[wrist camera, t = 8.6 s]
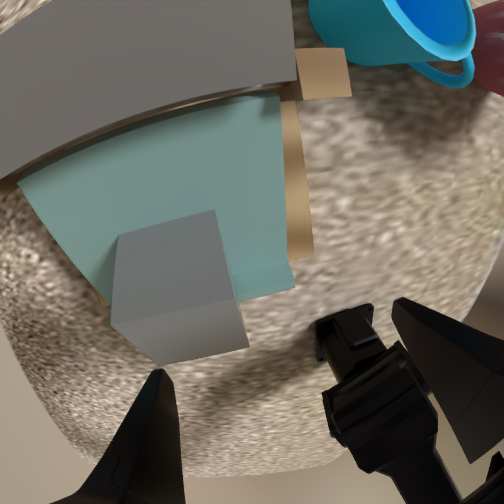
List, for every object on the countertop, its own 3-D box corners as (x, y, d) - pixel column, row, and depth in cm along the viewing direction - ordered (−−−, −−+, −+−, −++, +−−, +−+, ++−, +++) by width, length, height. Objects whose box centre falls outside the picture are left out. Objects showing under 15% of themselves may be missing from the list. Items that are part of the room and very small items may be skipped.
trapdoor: (274, 236, 20) (297, 294, 17) (117, 276, 19) (115, 336, 16) (245, -33, 7) (283, -56, 4) (0, 59, 6) (-61, 93, 3)
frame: (311, 251, 23) (363, 325, 15) (104, 303, 22) (78, 387, 14) (274, 13, 14) (330, -42, 6) (26, 92, 12) (-57, 99, 5)
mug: (287, 20, 14) (341, -23, 7) (337, -39, 11) (396, -79, 4) (405, 117, 18) (482, 134, 11) (439, 55, 16) (510, 57, 9)
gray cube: (231, 271, 17) (249, 346, 14) (153, 289, 17) (158, 365, 14) (214, 209, 13) (234, 297, 10) (118, 235, 13) (110, 325, 10)
